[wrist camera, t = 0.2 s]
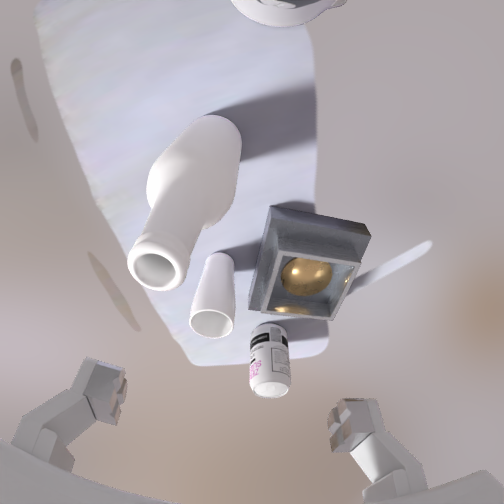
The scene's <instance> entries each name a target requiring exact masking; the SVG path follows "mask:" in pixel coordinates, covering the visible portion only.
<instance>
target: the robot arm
mask: <svg viewBox="0 0 504 504" xmlns="http://www.w3.org/2000/svg"><path fill="white" fill-rule="evenodd" d="M231 1H232V3H233V4H234V6H235V7H236V8H237V9H238V10H239V11H240V12H241V13H242V14H244V15H245V16H247V17H248V18H250V19H252V20H254V21H256V22H258V23H261V24H264V25H268V26H274V27H291V26H297V25H301V24H304V23H306V22H309V21H311V20H312V19H314V18H316V17H317V16H318V15H320V14H321V13H322V12H323V11H325V10H327V9H330V8H334V7H339V6H342V5H344V4H345V3H346V1H347V0H231ZM125 374H126V373H125V368H123V367H119V366H115V365H112V364H109V363H105V362H102V361H99V360H96V359H92V358H89V357H86V358H85V359H84V361H83V363H82V365H81V367H80V369H79V371H78V373H77V375H76V377H75V379H74V382H73V384H72V386H71V388H70V390H67V389H66V390H64V391H63V392H61V393H60V394H58V395H56V396H55V397H53V398H52V399H50V400H48V401H47V402H45V403H43V404H42V405H40V406H38V407H37V408H35V409H34V410H32V411H30V412H29V413H27V414H26V415H24V416H23V417H22V419H21V422H20V423H19V426H18V428H17V430H16V433H15V435H14V437H13V440H12V442H11V444H10V443H8V442H6V441H5V440H3V439H1V438H0V504H180V503H175V502H169V501H164V500H159V499H155V498H150V497H146V496H142V495H138V494H134V493H130V492H127V491H123V490H120V489H116V488H113V487H109V486H107V485H104V484H100V483H98V482H95V481H92V480H89V479H86V478H83V477H80V476H78V475H75V474H73V473H71V472H72V468H73V465H74V461H75V459H74V456H73V455H72V454H71V453H70V451H69V450H68V449H67V448H66V446H67V445H69V444H70V443H71V442H72V441H73V440H75V439H76V438H77V437H78V436H79V435H80V434H82V433H83V432H84V431H85V430H86V429H88V428H89V427H90V426H91V425H92V424H94V423H95V422H96V420H98V421H101V422H105V423H109V424H112V425H117V423H118V420H119V417H120V414H121V409H120V405H121V404H122V403H124V401H125V398H126V393H127V380H126V379H125V378H124V376H125ZM327 424H328V430H329V431H330V432H331V433H332V436H331V437H330V445H331V451H332V452H350V454H351V455H352V457H353V458H354V459H355V460H356V462H357V463H358V464H359V466H360V467H361V469H362V470H363V471H364V472H365V474H366V475H367V476H368V478H369V479H370V480H371V482H372V483H373V484H372V485H370V486H368V487H367V488H365V489H364V490H363V498H364V504H504V488H503V485H502V484H501V483H500V482H499V481H498V480H497V479H496V478H495V477H494V476H493V475H492V474H490V473H489V472H488V471H486V470H480V471H478V472H475V473H472V474H470V475H467V476H465V477H463V478H460V479H457V480H454V481H451V482H448V483H446V484H443V485H440V486H436V487H433V488H430V489H428V486H427V482H426V478H425V474H424V470H423V467H422V464H421V463H420V462H419V461H418V460H417V459H416V458H415V457H414V456H413V455H412V454H411V453H410V452H409V451H408V450H407V449H406V448H405V447H404V446H403V445H402V444H401V443H400V442H399V441H398V440H397V439H396V438H395V437H394V436H393V435H392V434H391V433H390V432H389V431H388V432H386V430H385V426H384V422H383V419H382V415H381V412H380V408H379V405H378V402H377V400H376V399H374V398H369V399H363V398H360V399H359V398H353V399H350V398H349V399H340V400H339V401H338V402H337V407H335V408H333V409H332V410H331V411H330V413H329V416H328V421H327Z"/></svg>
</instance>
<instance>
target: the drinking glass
mask: <svg viewBox="0 0 504 504" xmlns="http://www.w3.org/2000/svg"><path fill="white" fill-rule="evenodd" d="M235 308H236V304H235V283H234V261H233V259H232V258H231V257H230V256H229V255H227V254H225V253H220V252H219V253H213V254H211V255H210V256H209V257H208V258H207V259H206V262H205V266H204V270H203V272H202V275H201V278H200V281H199V284H198V287H197V290H196V293H195V296H194V299H193V303H192V307H191V313H190V320H189V323H190V326H191V328H192V329H193V330H194V331H195V332H196V333H197V334H199V335H201V336H203V337H207V338H222V337H225V336H227V335H228V334H230V333H231V332H232V330H233V328H234V321H235Z"/></svg>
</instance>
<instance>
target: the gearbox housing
mask: <svg viewBox="0 0 504 504" xmlns="http://www.w3.org/2000/svg"><path fill="white" fill-rule="evenodd" d="M370 239H371V234H370V233H369V231H368V229H367V227H366V226H365V224H363V223H358V222H353V221H348V220H343V219H338V218H333V217H328V216H323V215H318V214H313V213H307V212H302V211H296V210H291V209H285V208H280V207H274V206H270V208H269V212H268V216H267V221H266V225H265V229H264V233H263V237H262V242H261V246H260V250H259V254H258V258H257V262H256V267H255V271H254V275H253V279H252V283H251V287H250V292H249V301H248V310H255V311H261V313H265V314H274V315H282V316H291V317H300V318H310V319H320V320H331V321H332V320H334V318H335V316H336V314H337V312H338V310H339V308H340V306H341V304H342V302H343V300H344V298H345V296H346V294H347V292H348V290H349V288H350V286H351V284H352V282H353V280H354V278H355V276H356V274H357V271H358V269H359V267H360V265H361V259H362V257H363V254H364V252H365V250H366V248H367V245H368V243H369V241H370Z"/></svg>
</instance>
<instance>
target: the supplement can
mask: <svg viewBox="0 0 504 504" xmlns="http://www.w3.org/2000/svg"><path fill="white" fill-rule="evenodd" d="M290 385H291V375H290V362H289V350H288V339H287V332H286V330H285V329H284V328H283V327H281V326H279V325H277V324H272V323H266V324H262V325H259V326H258V327H256V328H255V329H253V331H252V332H251V336H250V386H251V388H252V390H253V392H254V394H255V395H257V396H259V397H262V398H276V397H280V396H283V395H285V394H286V393H287V392H288V389H289V387H290Z"/></svg>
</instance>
